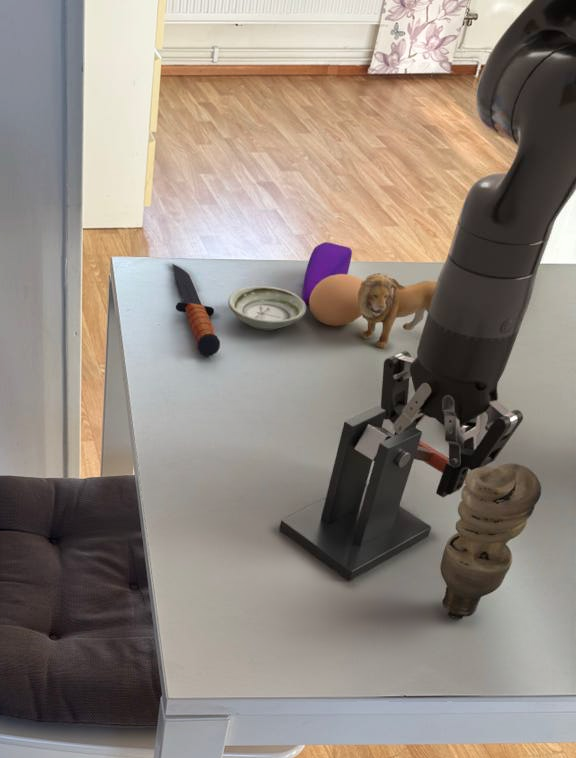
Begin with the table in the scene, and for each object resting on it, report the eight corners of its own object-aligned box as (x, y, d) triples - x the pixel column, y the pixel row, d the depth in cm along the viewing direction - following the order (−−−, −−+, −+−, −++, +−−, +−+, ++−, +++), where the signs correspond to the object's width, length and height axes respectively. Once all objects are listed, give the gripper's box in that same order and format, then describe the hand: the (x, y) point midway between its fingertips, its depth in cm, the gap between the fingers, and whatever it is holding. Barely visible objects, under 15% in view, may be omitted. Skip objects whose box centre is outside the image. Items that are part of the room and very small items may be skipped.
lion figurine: (362, 360, 112) (380, 287, 106) (335, 340, 115) (351, 268, 109) (457, 335, 117) (479, 264, 110) (428, 316, 120) (448, 246, 114)
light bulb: (421, 629, 80) (475, 486, 70) (417, 586, 84) (468, 444, 73) (489, 638, 80) (554, 495, 69) (482, 595, 83) (543, 453, 73)
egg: (315, 266, 113) (375, 261, 115) (296, 292, 119) (354, 287, 120) (325, 313, 112) (386, 307, 114) (306, 336, 118) (364, 331, 120)
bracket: (357, 489, 94) (385, 384, 86) (428, 536, 89) (466, 429, 81) (278, 529, 89) (300, 423, 81) (349, 581, 84) (380, 473, 76)
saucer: (302, 343, 114) (305, 324, 112) (222, 335, 115) (225, 316, 113) (304, 307, 121) (307, 288, 119) (229, 299, 122) (231, 281, 120)
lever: (405, 455, 92) (418, 432, 91) (446, 480, 89) (460, 457, 88) (341, 441, 83) (355, 416, 82) (385, 468, 80) (400, 443, 79)
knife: (192, 276, 131) (158, 271, 130) (197, 257, 129) (162, 251, 128) (226, 360, 112) (186, 354, 111) (232, 339, 110) (192, 333, 109)
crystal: (284, 316, 121) (318, 264, 129) (321, 325, 119) (352, 271, 128) (290, 280, 117) (324, 229, 126) (328, 289, 116) (360, 237, 124)
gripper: (576, 334, 77) (507, 502, 89) (436, 270, 84) (390, 432, 97) (520, 361, 73) (456, 531, 86) (380, 292, 81) (340, 456, 93)
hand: (421, 477), depth 91 cm, fingers open, 5 cm apart
